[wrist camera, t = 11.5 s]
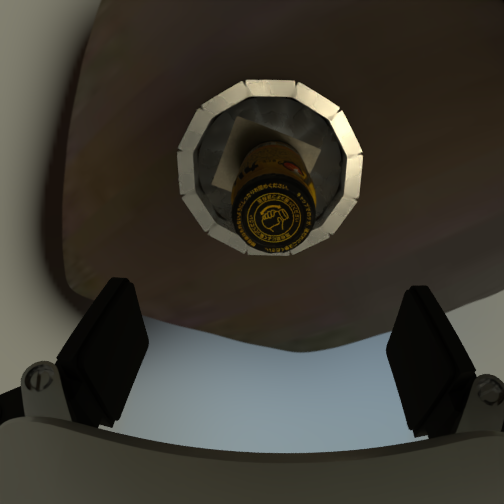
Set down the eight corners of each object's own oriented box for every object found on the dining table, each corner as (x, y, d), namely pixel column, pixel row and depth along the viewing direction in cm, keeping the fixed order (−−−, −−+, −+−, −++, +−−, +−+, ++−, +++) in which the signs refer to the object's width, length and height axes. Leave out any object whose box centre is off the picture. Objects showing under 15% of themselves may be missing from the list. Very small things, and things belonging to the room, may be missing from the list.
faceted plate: (181, 85, 26) (173, 84, 24) (359, 87, 25) (366, 87, 23) (191, 242, 34) (186, 253, 32) (345, 246, 33) (350, 257, 31)
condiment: (290, 214, 31) (299, 280, 21) (211, 184, 30) (178, 236, 20) (321, 149, 28) (351, 183, 17) (237, 115, 27) (214, 128, 16)
